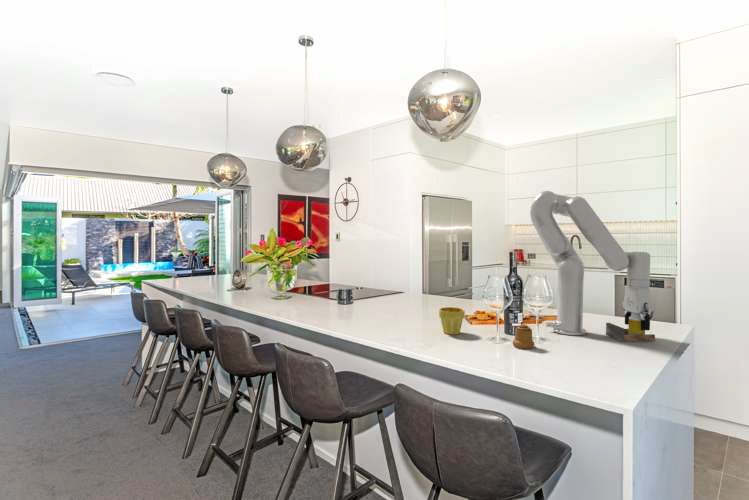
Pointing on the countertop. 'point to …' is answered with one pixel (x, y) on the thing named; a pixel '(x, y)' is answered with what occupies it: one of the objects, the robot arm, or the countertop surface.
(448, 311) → the plant pot
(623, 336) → the guide track
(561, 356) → the countertop surface
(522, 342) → the ornamental finial
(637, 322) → the supplement bottle
